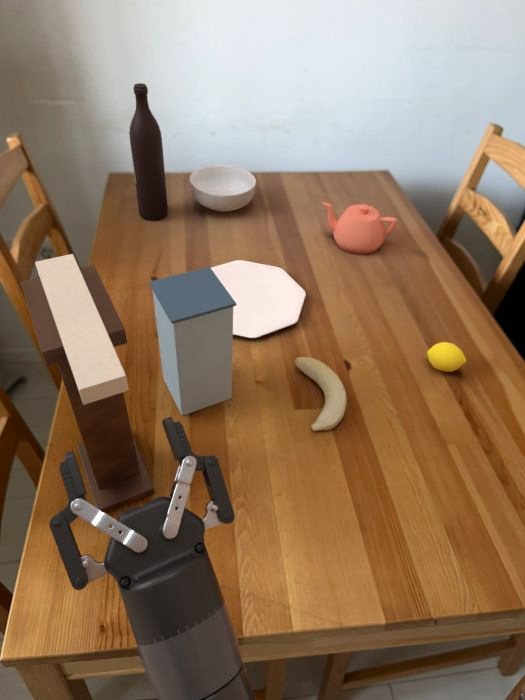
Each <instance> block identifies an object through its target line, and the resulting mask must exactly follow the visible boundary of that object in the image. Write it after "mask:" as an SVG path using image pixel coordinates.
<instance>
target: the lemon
mask: <svg viewBox="0 0 525 700" xmlns="http://www.w3.org/2000/svg"><path fill="white" fill-rule="evenodd" d="M426 356H427V359H428V361H429V364H430V365H431V366H432V367H433V368H434V369H436V370H438V371H440V372H444V373H453V372H454V371H457V370H458V369H459V368H461V367H462V366H464V365H465V364H466V363H467V358H466V355H464V353H463V350H462V349H461V348H460V347H458V346H457V345H456V344H455V343H453V342H447V341H441V342H438V343H434V345H433V346H431V347H430V348H429V349H428V350H427V352H426Z"/></svg>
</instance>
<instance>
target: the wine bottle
mask: <svg viewBox="0 0 525 700" xmlns="http://www.w3.org/2000/svg"><path fill="white" fill-rule="evenodd" d="M133 94H134V97H135V111H134V113H133V117H132V119H131V121H130V125H129V134H128V135H129V144H130V145H129V146H130V150H131V159H132V167H133V174H134V175H133V177H134V183H135V192H136V198H137V206H138V212H139V215H140V217H141V218H142V219H143V220H146V221H160V220H163V219H165V218H166V217H167V216H168V215H169V206H168V193H167V183H166V170H165V159H164V148H163V138H162V131H161V128H160V125H159V123H158V121H157V119H156V117H155V116H154V115H153V113H152V111H151V109H150V104H149V99H148V94H149V90H148V86H147V84H146V83H141V82H140V83H134V85H133Z"/></svg>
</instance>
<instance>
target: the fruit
mask: <svg viewBox="0 0 525 700" xmlns="http://www.w3.org/2000/svg"><path fill="white" fill-rule="evenodd" d="M294 364H295V366H296V367H297V368H298V369H299V370H300V371H301V372H302V373H304V374H305V376H307V377H309V378H310V379H311V380H313V381H314V382H315V383H316V384H317V385H318V386H319V387H320V389H321V390H322V392H323V395H324V405H323V407H322V409H321V411H320V413H319V415H318V416H317V418H316V420H315V421H314V422H313V423H312V424H311V425H310V428H311V430H312V431H313V432H318V431H319V432H320V431H330V430H332V429H334V428H336V426H337V425H338V424H339V423H341V421H342V419H343V418H344V415H345V412H346V409H347V401H348V400H347V399H348V397H347V393H346V389H345V386H344V384H343V382H342V381H341V378H340V377H339V376H338V375H337V374H336V372H335V371H333V369H332V368H330V367H329V365H326V364H325V363H324V362H322V361H321V360H318V359H317V358H314V357H310V356H298V357H296V359H295V360H294Z"/></svg>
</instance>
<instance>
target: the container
mask: <svg viewBox="0 0 525 700" xmlns="http://www.w3.org/2000/svg"><path fill="white" fill-rule="evenodd" d="M211 268H212V267H210V266H206V267H202V268H198V269H193V270H190V271H186V272H182V273H178V274H177V273H176V274H174V275H170V276H166V277H161V278H158V279H153V280H150V281H148V285H149V287H150V288H151V291H152V297H153V306H154V314H155V322H156V330H157V338H158V339H157V340H158V347H159V355H160V361H161V362H160V364H161V369H162V370H161V372H162V379H163V381H164V383H165V385H166V387H167V389H168V391H169V393H170V395H171V397H172V399H173V402H174V403H175V405H176V407H177V410H178V412H179V414H180V415H181V416H182V417H183V416H186V415H188V414H191V413H194V412H197V411H199V410H203V409H205V408H208V407H211V406H214V405H217V404H219V403H222V402H225V401H228V400H231V399H232V398H233V351H234V350H233V349H234V348H233V347H234V345H233V343H234V342H233V341H234V335H233V307H234V306H236V302H235V301H234V300H233V298H232V297H231V295H230V294H229V293H228V291H227V290H226V289H225V287H224V286H223V284H222V283H221V282H220V280H219V279H218V278H217V276H216V275H215V273H214V272H213V271H212V269H211Z"/></svg>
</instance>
